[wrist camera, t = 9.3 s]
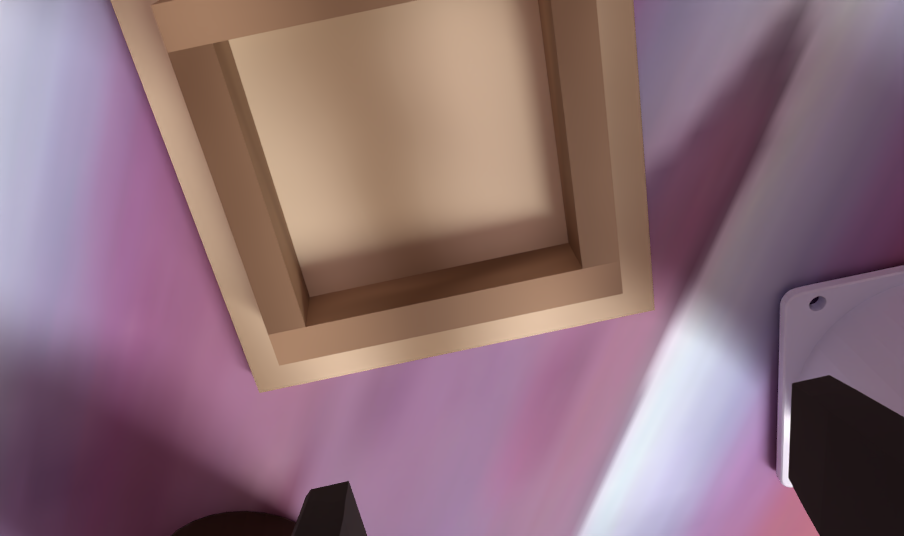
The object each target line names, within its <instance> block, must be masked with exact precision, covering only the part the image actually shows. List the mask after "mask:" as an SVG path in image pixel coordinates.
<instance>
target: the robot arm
mask: <svg viewBox="0 0 904 536" xmlns="http://www.w3.org/2000/svg"><path fill="white" fill-rule="evenodd" d="M818 296H819V299H818V300H817V301H816V302H815V303H814V304H811V305H810V302H811V301H812V300H813V298H815V297H818ZM776 474H777V477H778V479H779V480H780V482H781V483H782V484H783V485H784V486H786V487H793V488H794V490H795V491H796V493H797V495H798V497H799V499H800V501H801V503H802V505H803V507H804V508H805V510H806V512H807V514H808V516H809V517H810V519H811V521H812V523H813V524H814V526H815V528H816V530H817V531H818V533H819V535H820V536H904V265H902V266H897V267H892V268H887V269H883V270H878V271H873V272H868V273H864V274H859V275H854V276H849V277H845V278H840V279H835V280H830V281H825V282H821V283H816V284H811V285H806V286H802V287H797V288H794V289H791V290H790V291H788V292H787V293H786V294H785V295H784V296H783V298H782V299H781V303H780V331H779V376H778V420H777V465H776ZM291 536H367V534H366V531H365V528H364V525H363V522H362V519H361V516H360V513H359V510H358V507H357V504H356V501H355V498H354V495H353V492H352V489H351V486H350V483H349V481H347V482H343V483H338V484H334V485H329V486H324V487H320V488H315V489H311V490H310V492H309V493H308V494H307V496H306V498H305V500H304V503H303V506H302V509H301V511H300V514H299V517H298V519H297V522H296V525H295V527H294V530H293V532H292V535H291Z"/></svg>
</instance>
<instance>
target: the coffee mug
mask: <svg viewBox="0 0 904 536" xmlns="http://www.w3.org/2000/svg"><path fill="white" fill-rule="evenodd" d="M295 525H296V523H295V522H293V521H291V520H288V519H286V518H283V517H279V516H275V515H271V514H267V513H259V512H249V511H241V512H226V513H220V514H215V515H210V516H207V517H204V518H201V519H199V520H196V521H193V522H191V523H189V524H188V525H186V526H184V527H182V528H180V529H179V530H177V531H176V532H175V533H174V534H173V535H171V536H291V535H292V532H293V530H294V527H295Z"/></svg>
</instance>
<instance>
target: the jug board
mask: <svg viewBox="0 0 904 536" xmlns="http://www.w3.org/2000/svg"><path fill="white" fill-rule="evenodd" d="M110 1H111V3H112V6H113V8H114V11H115V14H116V16H117V19H118V22H119V24H120V27H121V30H122V32H123V35H124V37H125V40H126V43H127V45H128V48H129V51H130V53H131V56H132V58H133V61H134V64H135V66H136V69H137V72H138V74H139V77H140V80H141V82H142V85H143V87H144V90H145V93H146V95H147V98H148V101H149V103H150V106H151V108H152V111H153V114H154V116H155V119H156V122H157V124H158V127H159V130H160V132H161V135H162V137H163V140H164V143H165V145H166V148H167V151H168V153H169V156H170V158H171V161H172V164H173V166H174V169H175V172H176V174H177V177H178V180H179V182H180V185H181V187H182V190H183V193H184V195H185V198H186V201H187V203H188V206H189V209H190V211H191V214H192V216H193V219H194V222H195V224H196V227H197V230H198V232H199V235H200V237H201V240H202V243H203V245H204V248H205V251H206V253H207V256H208V259H209V261H210V264H211V266H212V269H213V272H214V274H215V277H216V280H217V282H218V285H219V287H220V290H221V293H222V295H223V298H224V301H225V303H226V306H227V309H228V311H229V314H230V316H231V319H232V322H233V324H234V327H235V330H236V332H237V335H238V337H239V340H240V343H241V345H242V348H243V351H244V353H245V356H246V359H247V361H248V364H249V366H250V369H251V372H252V374H253V377H254V380H255V382H256V385H257V387H258V390H259V393H261V392H266V391H271V390H275V389H280V388H285V387H290V386H295V385H299V384H304V383H309V382H314V381H318V380H323V379H328V378H333V377H337V376H342V375H347V374H352V373H356V372H361V371H366V370H371V369H376V368H380V367H385V366H390V365H395V364H399V363H404V362H409V361H414V360H418V359H423V358H428V357H433V356H438V355H442V354H447V353H452V352H457V351H461V350H466V349H471V348H476V347H480V346H485V345H490V344H495V343H499V342H504V341H509V340H514V339H519V338H523V337H528V336H533V335H538V334H542V333H547V332H552V331H557V330H561V329H566V328H571V327H576V326H581V325H585V324H590V323H595V322H600V321H604V320H609V319H614V318H619V317H623V316H628V315H633V314H638V313H642V312H647V311H652V310H655V309H654V294H653V280H652V265H651V251H650V236H649V222H648V207H647V193H646V178H645V164H644V149H643V135H642V120H641V106H640V91H639V77H638V62H637V48H636V33H635V19H634V4H633V0H110Z"/></svg>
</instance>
